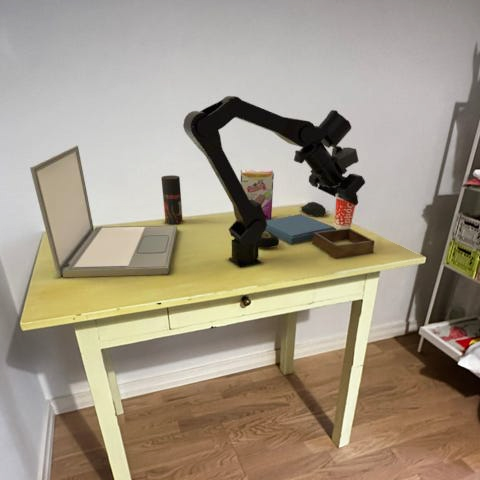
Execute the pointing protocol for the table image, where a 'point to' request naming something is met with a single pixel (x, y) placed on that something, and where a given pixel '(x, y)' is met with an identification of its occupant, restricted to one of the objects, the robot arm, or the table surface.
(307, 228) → the blue square platform
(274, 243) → the tape measure
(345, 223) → the beverage cup
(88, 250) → the laptop
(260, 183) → the candy bar box
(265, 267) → the table surface
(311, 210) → the gaming mouse
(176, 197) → the deodorant
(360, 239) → the open box
